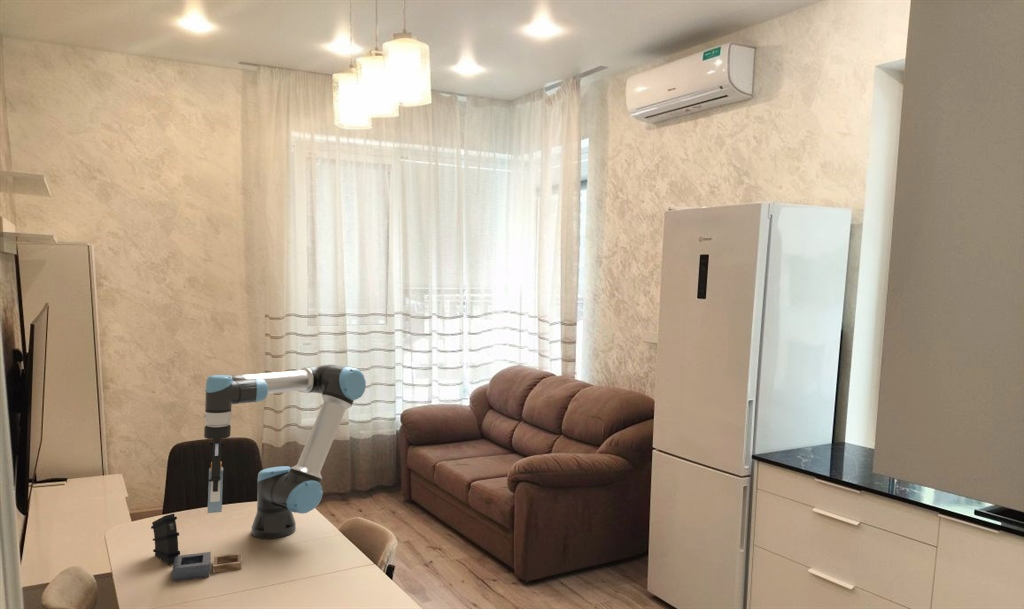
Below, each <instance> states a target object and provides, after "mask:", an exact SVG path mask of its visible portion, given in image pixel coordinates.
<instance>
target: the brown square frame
mask: <svg viewBox="0 0 1024 609" xmlns="http://www.w3.org/2000/svg"><path fill="white" fill-rule="evenodd" d="M230 561H231V562H230ZM219 562H223V563H219ZM241 569H242V553H241V552H239V553H229V554H221V555H214V556H213V564H212V573H213V572H214V573H220V572H219V571H222V572H228V570H229V571H235V570H241Z"/></svg>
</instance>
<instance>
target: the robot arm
mask: <svg viewBox="0 0 1024 609" xmlns="http://www.w3.org/2000/svg"><path fill="white" fill-rule="evenodd" d="M366 384H367V382H366V378H365V375H364V373H363V372H362V371H361V370H360V369H359V368H355V367H351V366H345V365H344V366H343V365H337V364H336V365H335V364H323V365H316V366H315V365H314V366H307V367H302V368H301V369H299V370H290V371H276V372H275V371H274V372H263V373H262V372H261V373H248V374H247V373H246V374H245V373H244V374H235V375H229V374H214V375H209V376H208V377H207V378H206V383H205V390H204V391H205V399H204V402H205V403H204V404H205V407H204V409H205V410H204V411H205V412H204V414H203V415H202V418H203V419H204V424H205V426H204V429H203V430H204V434H203V437H204V438H205V439H207V440H212V442H210V444H209V450H210V459H211V462H212V475H211V479H209V478H208V483H209V482H210V481H211V491H210V502H217V501H220V479H221V477H220V465H221V460H222V458H223V456H224V455H223V454H224V452H223V451H224V448H225V447H224V446H225V442H224V441H222V439H228V438H230V436H231V430H232V429H231V428H232V426H231V425H230V424H231V423H232V407H233V406H232V405H239V404H246V403H250V404H251V403H258V402H262V401H265V400H266V398H267V396H268V395H270V394H271V395H272V394H279V393H280V394H282V393H290V392H292V393H293V392H299V391H300V392H302V393H304V394H307V393H313V394H321V398H322V401H323V402H322V405H321V407H320V409H319V412H318V415H317V416H316V419H315V421H314V424H313V425H312V429H311V431H310V433H309V436H308V438H307V440H306V442H305V445H304V447H303V450H302V451H301V454H300V456H299V458H298V461H297V464H296V465H293V466H292V467H291V466H286V465H285V466H284V465H283V466H274V467H268V468H264V469H262V470H260V471H259V472H258V474H257V481H256V482H257V490H256V492H257V496H256V497H257V498H256V499H257V500H256V501H257V503H256V505H257V506H256V507H257V508H256V513H255V517H254V519H253V522H252V525H251V535H252V536H253V537H255V538H258V539H266V540H267V539H268V540H269V539H270V540H271V539H278V538H283V537H287V536H289V535H292V534H293V533H294V532H296V527H297V526H296V524H297V522H296V518H295V517H294V514H295V513H297V514H303V515H304V514H307V513H309V512H311V511H313V510H315V509H316V507H318V505H319V504H320V502H321V500H322V498H323V492H324V491H323V486H322V485H321V483H322V480H323V477H322V475H321V472H322V468H323V466H324V464H325V462H326V460H327V456H328V454H329V452H330V449H331V447H332V444H333V442H334V439H335V436H336V435H337V432H338V430H339V427H340V424H341V423H342V420H343V418H344V415H345V413H346V410H348V409H351V408H352V406H353V404H354V402H355V401H356V400H359V399H360V398H362V397H363V395H364V394H365V392H366ZM293 513H294V514H293Z"/></svg>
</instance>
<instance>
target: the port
mask: <svg viewBox="0 0 1024 609" xmlns="http://www.w3.org/2000/svg"><path fill="white" fill-rule="evenodd" d="M211 554H212V553H211V551H205V552H197V553H191V554H182V555H181V554H180V555H178V556H175V560H174V564H172V573H171V574H172V575H171V577H172V578H171V582H172V583H175V582H176V583H177V582H183V581H190V580H197V579H198V580H199V579H206V578H205V577H207V578H209V577H210V573H211V572H210V571H211V558H212V557H211Z"/></svg>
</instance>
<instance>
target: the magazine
mask: <svg viewBox="0 0 1024 609" xmlns="http://www.w3.org/2000/svg"><path fill="white" fill-rule="evenodd" d="M176 520H178V516H175V513H170V514H166V515H163V516H162V517H159V518H158V519H156V520H154V521H152V525H151V526H150V528H151V529H150V530H153V535H154V538H152V541H154V549H152V550H153V551H152V552H153V553H154V557H156V558H157V559H158V560H160V561H162V562H163V563H165V564H166V565H168V566H170V565H173V564H174V560H175V556H179V555H181V551H180V550H179V540H178V538H179V537H178V536H180V532H179V531H178V529H177V523H176Z"/></svg>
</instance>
